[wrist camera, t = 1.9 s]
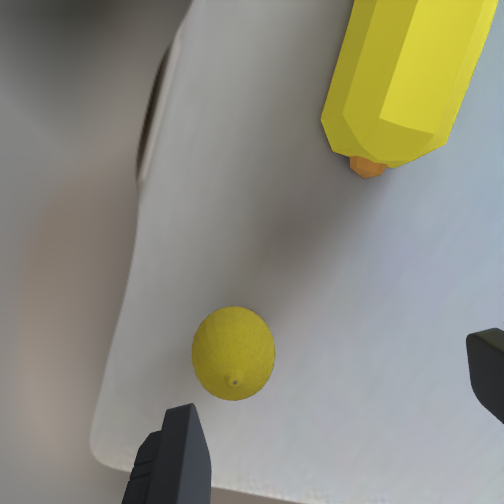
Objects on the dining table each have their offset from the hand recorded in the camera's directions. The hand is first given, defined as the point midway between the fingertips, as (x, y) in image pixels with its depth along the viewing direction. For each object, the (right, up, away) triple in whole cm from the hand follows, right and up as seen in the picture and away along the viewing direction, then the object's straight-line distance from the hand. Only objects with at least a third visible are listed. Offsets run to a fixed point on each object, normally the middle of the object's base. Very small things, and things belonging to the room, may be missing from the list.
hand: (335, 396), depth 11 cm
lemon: (-4, -2, +18) cm, 19 cm away
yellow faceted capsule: (+7, +18, +15) cm, 25 cm away
